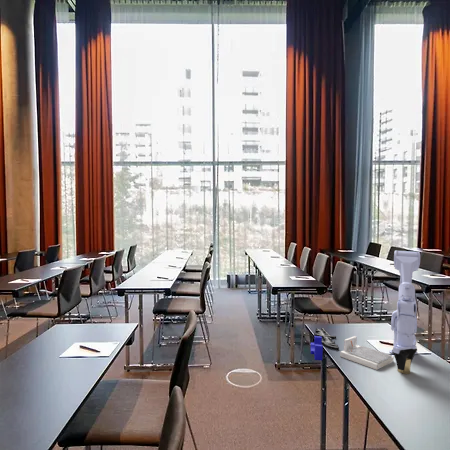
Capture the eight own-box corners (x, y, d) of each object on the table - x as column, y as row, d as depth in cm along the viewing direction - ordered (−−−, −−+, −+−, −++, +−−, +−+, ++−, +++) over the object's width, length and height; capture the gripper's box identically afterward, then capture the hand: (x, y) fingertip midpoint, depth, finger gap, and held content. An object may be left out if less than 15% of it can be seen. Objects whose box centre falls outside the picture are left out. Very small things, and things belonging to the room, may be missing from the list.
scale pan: (362, 347, 160) (362, 345, 160) (391, 357, 150) (391, 355, 150) (348, 352, 154) (348, 350, 154) (378, 363, 144) (379, 361, 144)
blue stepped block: (310, 349, 163) (310, 335, 163) (321, 350, 163) (321, 336, 162) (310, 359, 152) (311, 345, 152) (322, 361, 151) (322, 346, 151)
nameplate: (347, 347, 163) (324, 347, 162) (347, 351, 163) (324, 351, 162) (327, 327, 190) (308, 327, 190) (327, 330, 190) (308, 330, 190)
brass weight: (400, 368, 145) (401, 352, 145) (412, 372, 142) (413, 356, 142) (395, 371, 142) (395, 355, 142) (406, 375, 139) (407, 359, 139)
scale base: (357, 349, 164) (357, 334, 163) (393, 361, 151) (394, 345, 151) (340, 356, 155) (340, 340, 155) (376, 369, 143) (377, 352, 143)
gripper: (407, 339, 134) (405, 376, 134) (424, 331, 143) (423, 366, 144) (388, 333, 139) (386, 369, 140) (406, 326, 148) (404, 360, 149)
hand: (403, 367), depth 142 cm, fingers closed on brass weight, 4 cm apart
